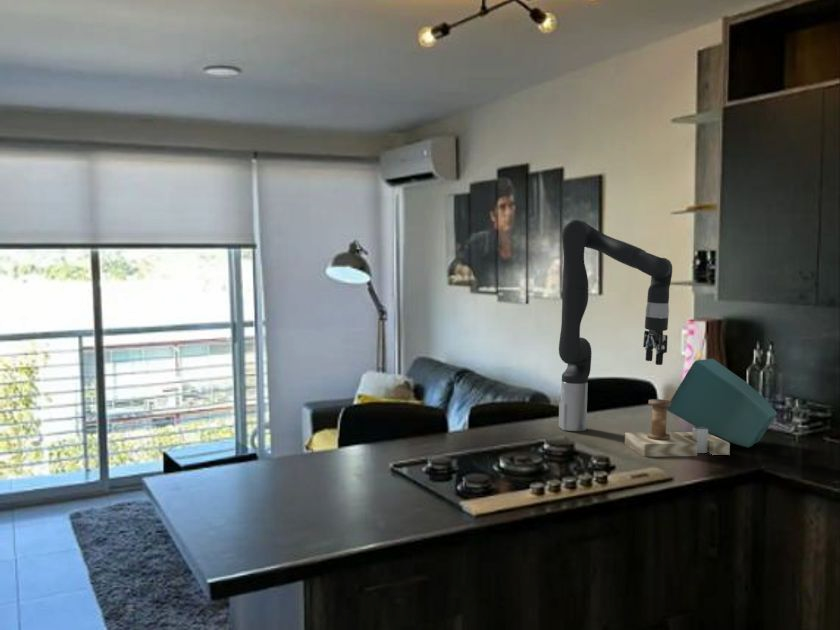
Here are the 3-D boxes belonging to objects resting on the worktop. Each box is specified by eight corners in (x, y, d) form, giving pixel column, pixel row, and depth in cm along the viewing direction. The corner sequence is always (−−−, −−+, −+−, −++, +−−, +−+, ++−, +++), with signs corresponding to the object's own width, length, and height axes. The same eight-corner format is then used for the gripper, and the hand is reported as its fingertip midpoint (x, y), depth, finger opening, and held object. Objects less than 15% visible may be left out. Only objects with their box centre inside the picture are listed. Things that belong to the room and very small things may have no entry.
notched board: (644, 456, 235) (644, 443, 234) (624, 444, 251) (625, 432, 250) (729, 455, 238) (729, 443, 238) (704, 443, 254) (705, 431, 253)
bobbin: (652, 440, 239) (654, 403, 239) (643, 435, 246) (645, 399, 246) (673, 440, 240) (675, 403, 239) (664, 435, 247) (665, 399, 246)
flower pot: (772, 407, 237) (693, 360, 252) (738, 459, 243) (664, 409, 258) (787, 402, 252) (713, 358, 268) (755, 451, 258) (684, 404, 274)
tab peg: (707, 453, 240) (708, 429, 239) (696, 453, 239) (697, 429, 239) (701, 451, 243) (702, 426, 243) (691, 451, 243) (692, 426, 242)
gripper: (638, 313, 264) (635, 359, 266) (654, 317, 250) (651, 365, 252) (658, 314, 265) (655, 360, 267) (676, 318, 251) (673, 366, 252)
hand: (653, 362), depth 259 cm, fingers open, 8 cm apart
